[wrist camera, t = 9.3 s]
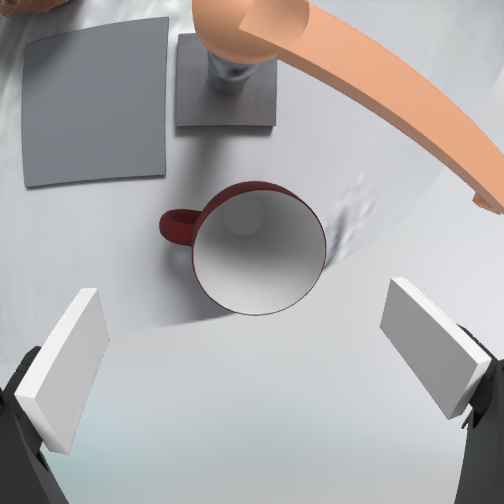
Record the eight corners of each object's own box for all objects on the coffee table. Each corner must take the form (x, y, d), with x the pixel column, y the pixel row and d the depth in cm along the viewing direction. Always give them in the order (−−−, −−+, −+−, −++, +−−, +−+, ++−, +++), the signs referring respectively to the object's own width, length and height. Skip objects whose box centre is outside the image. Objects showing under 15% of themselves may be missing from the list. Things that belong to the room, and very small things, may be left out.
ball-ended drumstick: (473, 218, 16) (511, 236, 13) (180, 54, 12) (171, 30, 8) (495, 164, 15) (534, 175, 12) (220, -15, 10) (223, -52, 7)
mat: (26, 186, 24) (24, 187, 24) (27, 45, 19) (26, 44, 19) (165, 173, 26) (165, 174, 25) (169, 18, 21) (168, 16, 20)
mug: (171, 260, 29) (156, 320, 19) (166, 170, 26) (142, 191, 16) (286, 256, 30) (320, 311, 21) (290, 168, 27) (332, 188, 18)
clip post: (177, 126, 24) (140, 118, 11) (179, 37, 22) (153, -48, 8) (273, 126, 25) (340, 121, 12) (275, 38, 23) (337, -38, 9)
